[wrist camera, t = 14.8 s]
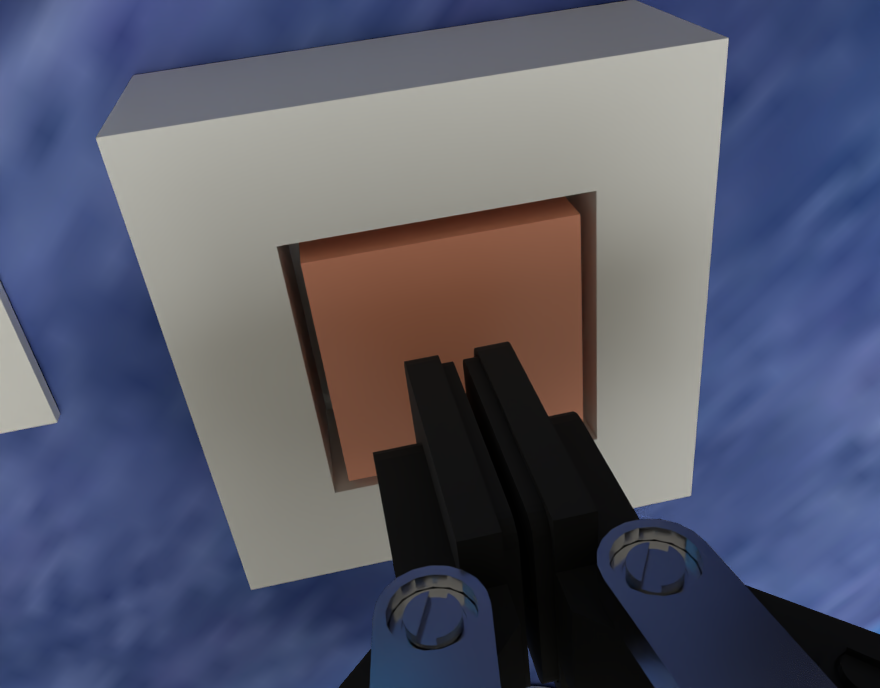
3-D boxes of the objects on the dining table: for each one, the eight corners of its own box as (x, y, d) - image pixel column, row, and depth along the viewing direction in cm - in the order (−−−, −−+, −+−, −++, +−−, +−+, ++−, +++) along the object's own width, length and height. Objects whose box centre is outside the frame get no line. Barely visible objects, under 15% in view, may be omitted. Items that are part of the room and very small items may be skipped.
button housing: (625, 396, 20) (691, 495, 16) (253, 470, 19) (251, 590, 16) (633, -1, 15) (728, 38, 12) (132, 75, 14) (95, 137, 11)
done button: (545, 364, 17) (583, 433, 15) (339, 404, 17) (349, 480, 15) (537, 164, 15) (580, 214, 13) (296, 204, 14) (300, 263, 12)
